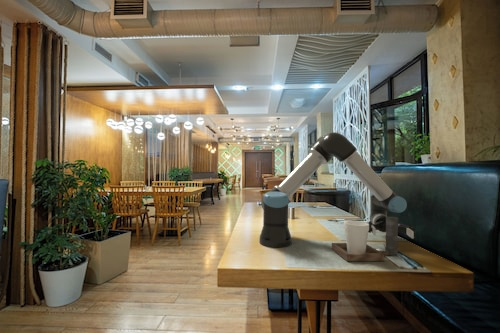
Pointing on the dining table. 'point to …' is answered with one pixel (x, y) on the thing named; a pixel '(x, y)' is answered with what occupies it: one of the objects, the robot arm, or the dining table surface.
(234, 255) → the dining table surface
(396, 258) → the dining table surface
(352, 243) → the foam cup
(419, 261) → the dining table surface
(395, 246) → the sliding frame
